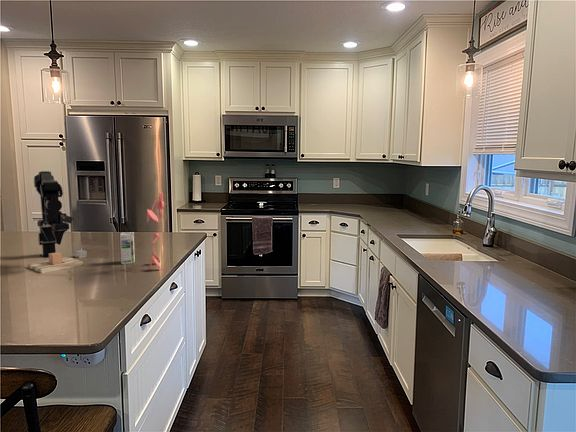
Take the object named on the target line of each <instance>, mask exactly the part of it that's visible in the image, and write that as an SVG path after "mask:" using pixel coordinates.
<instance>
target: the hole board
mask: <svg viewBox="0 0 576 432" xmlns="http://www.w3.org/2000/svg"><path fill="white" fill-rule="evenodd" d="M83 265H84V262H83V261H82V260H78V259H76V258H73V257H69V256H67V257H66V256H65V257H62V264H57V265H50V264H49V260H44V261H39V262H33V263H28V265H27V266H28V268H29V269H31V270H33V271H36V272H39V273H41V274H44V273H49V272H54V271H60V270H63V269H64V270H65V269H69V268H74V267H79V266H83Z"/></svg>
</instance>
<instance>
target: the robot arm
mask: <svg viewBox="0 0 576 432" xmlns="http://www.w3.org/2000/svg"><path fill="white" fill-rule="evenodd" d="M33 185H34V188H35V190H36V192H37V194H38V195H39V197H40V209H41V219H39V220H38V221H37V227H39V233H38V236H37V237H38V238H37V239H38V245H39V246H42V254H39V256H41V257H43V258H49V254H50V253H56V244H57V245H61V243H62V240H63V237H64V234H65V233H66V232H67V231H68V230H70V224H73V220H74V217H73V216H69V215H67V213H64V212H62V211H61V210H62V207H63V203H62V201H61V200H60V199H59V198H62V197H63V195H64V192H63V187H62V185H61V184H60V183H59V182H58V181H57V180H55V177H54V175H52V172H51V171H49V170H48V171H44V170H42V171H38V174H36V175H35V176H34V178H33Z"/></svg>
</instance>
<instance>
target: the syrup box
mask: <svg viewBox="0 0 576 432" xmlns="http://www.w3.org/2000/svg"><path fill="white" fill-rule="evenodd" d="M119 241H120V242H119V243H120V257H121V258H120V259H121V261H120V262H121V263H120V264H121V265H126V264H127V265H129V264H130V265H131V264H135V261H136V260H135V259H136V258H135V232H134V231H132V232H130V231H129V232H121V233H120V235H119Z"/></svg>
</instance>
